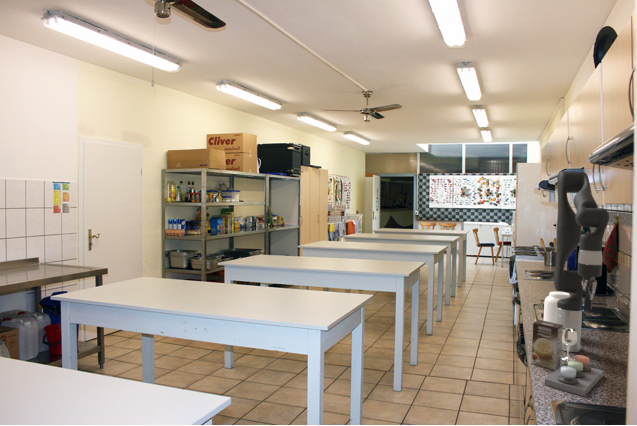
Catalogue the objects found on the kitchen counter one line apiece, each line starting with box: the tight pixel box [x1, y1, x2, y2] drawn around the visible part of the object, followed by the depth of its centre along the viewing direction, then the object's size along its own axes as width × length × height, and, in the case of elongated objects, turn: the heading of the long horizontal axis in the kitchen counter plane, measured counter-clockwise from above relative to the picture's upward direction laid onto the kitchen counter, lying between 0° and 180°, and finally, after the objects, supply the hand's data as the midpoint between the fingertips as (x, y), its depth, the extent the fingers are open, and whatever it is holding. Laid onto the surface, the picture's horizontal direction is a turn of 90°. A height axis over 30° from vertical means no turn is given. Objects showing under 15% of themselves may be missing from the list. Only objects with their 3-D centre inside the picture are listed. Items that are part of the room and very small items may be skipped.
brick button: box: [573, 354, 590, 366], centre depth 163 cm, size 5×5×2 cm
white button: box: [560, 365, 576, 378], centre depth 151 cm, size 5×5×2 cm
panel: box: [544, 361, 604, 397], centre depth 157 cm, size 24×12×3 cm, turn 135°
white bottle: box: [543, 290, 571, 323], centre depth 209 cm, size 12×12×20 cm
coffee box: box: [530, 319, 563, 371], centre depth 171 cm, size 9×6×16 cm
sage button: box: [567, 361, 583, 371], centre depth 157 cm, size 5×5×2 cm
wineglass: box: [561, 328, 577, 362], centre depth 177 cm, size 6×6×12 cm
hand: (587, 309), depth 165 cm, fingers closed
